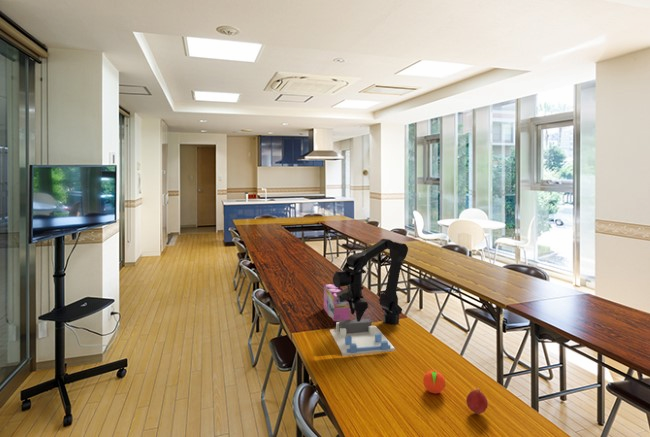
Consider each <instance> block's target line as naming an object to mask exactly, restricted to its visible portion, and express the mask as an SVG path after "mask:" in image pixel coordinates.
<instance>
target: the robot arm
mask: <svg viewBox="0 0 650 437" xmlns="http://www.w3.org/2000/svg"><path fill="white" fill-rule="evenodd" d="M386 250H389V253H388V254H389V257H390V265H389V271H388V277H387V281H386V288H385V290H384V291H383V292H380V294H379V299H378V302H379V306H380V307H381V310H382V311H383V312H384V314H383V315H382V316H383V319H382V321H383V323H384V324H387V325H398V326H399V327H401V324H400V314H402V312H403V308H402V307H401V306H400V305H399V296H398V294H397V291H398V290H397V289H398V284H399V279H400V278H399V277H400V274H401V268H402V262H404V260H405V259H406V258H407V255H408V252H409V247H408V246H407V244H406V243H403V242H398V241H393V240H392V239H388V238H381V239H380V241H377V242H376V243H375V244H372V245H371V246H370V247H368V248H366V249H364V250H363V251H361V252H356V253H355V252H354V253H353V254H351V255H349V256H347V260H346V261H345V264H344V265H343V267H342V269H341V270H335V272H334V274H333V277H332V284H333V285H334V286H335V287H341V288H342V287H346V288H345V289H343V290H342V291H339V292H337V293H336V295H337V297H338V300H339V301H340V302H343V301H344V300H347V301H348V302H349V311H350V313H351V315H355V317H356V318H355V319H356V320H357V322H359V321H360V320H361V319H363V316H364V314H365V312H366V311H367V309H369V303H368V301H366V300H365V299H364V295H363V290H364V286H363V274H366V273H367V271H366V270H365V269H364V267H366V266H367V265H368V262H370V260H372V259H373V258H376V257H377V256H378V255H379V254H381V253H383V252H384V251H386Z"/></svg>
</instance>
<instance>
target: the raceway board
mask: <svg viewBox="0 0 650 437" xmlns="http://www.w3.org/2000/svg"><path fill="white" fill-rule="evenodd" d="M335 322H336V323H335V324H336V325H335V328H334V329H333V328H332V329H329V332H330V333H331V335H332V338H333V340H334V341H335V343H336V345H337V346H338V348H339V350H340V352H341V353H340V355H341V356H342V357H347V356H348V357H349V356H355V355H356V356H357V355H369V354H376V353H377V354H378V353H388V352H395V351H396V347H394V345H393V344H392V343H391V342H390V340H389V339H387V337H386V336H385V335H384V334H383V333H382V331H381V330H380V329H379V328H378V327H377V326H376V325H372V326H368V332H360V333H349V334H346V328H340V332H339V321H335Z"/></svg>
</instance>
